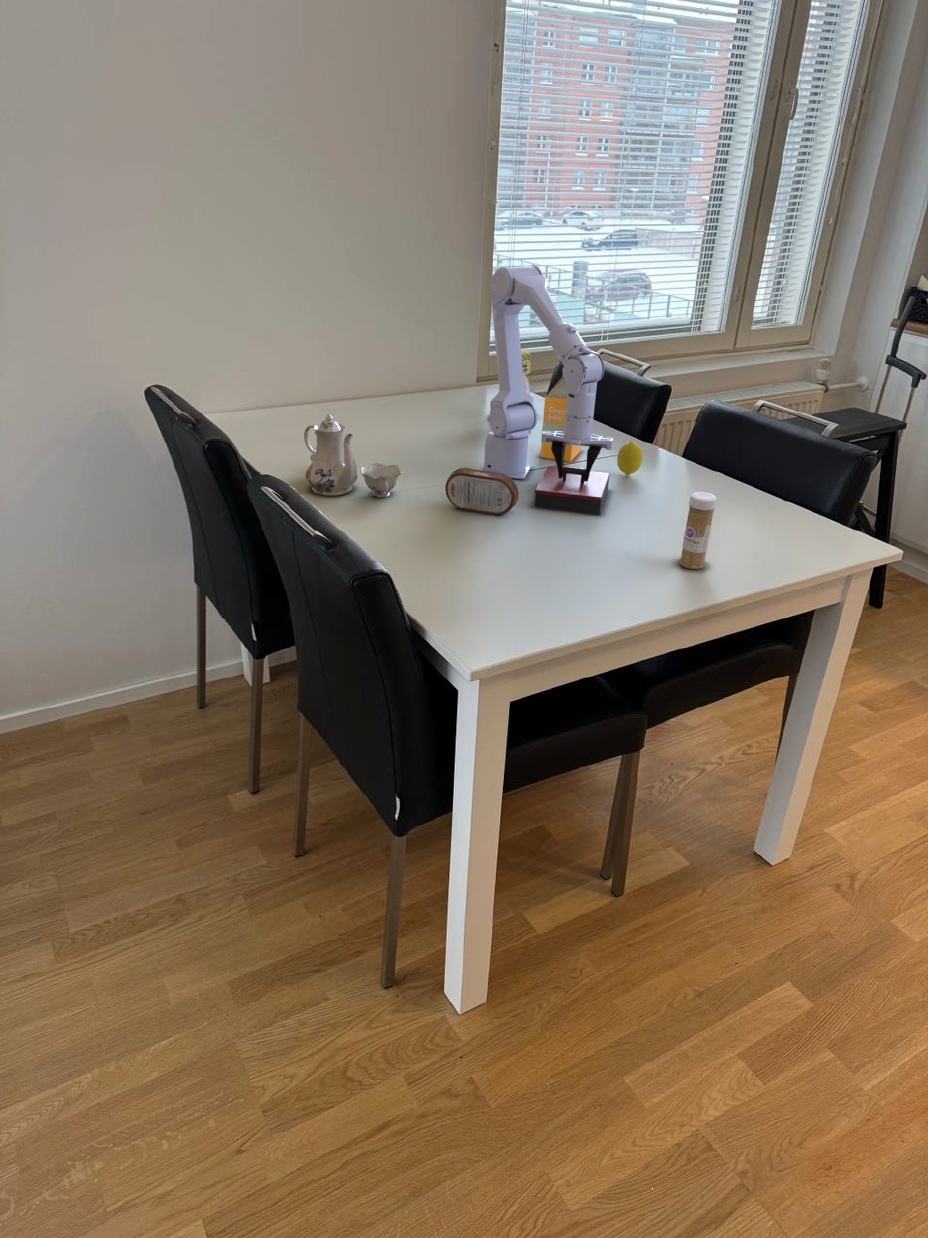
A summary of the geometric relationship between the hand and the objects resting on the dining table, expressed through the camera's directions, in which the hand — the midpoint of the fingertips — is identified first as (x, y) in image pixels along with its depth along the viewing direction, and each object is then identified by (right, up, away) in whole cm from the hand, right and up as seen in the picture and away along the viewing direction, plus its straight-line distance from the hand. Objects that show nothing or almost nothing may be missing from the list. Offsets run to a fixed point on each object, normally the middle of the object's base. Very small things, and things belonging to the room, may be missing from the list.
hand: (573, 478), depth 192 cm
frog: (-10, +25, +55) cm, 61 cm away
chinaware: (-49, -1, +5) cm, 49 cm away
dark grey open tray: (0, -4, +3) cm, 5 cm away
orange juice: (0, +10, +29) cm, 31 cm away
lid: (0, -1, +1) cm, 1 cm away
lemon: (+14, +3, +17) cm, 23 cm away
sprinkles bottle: (+19, -20, -25) cm, 37 cm away
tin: (-20, -8, -5) cm, 22 cm away
